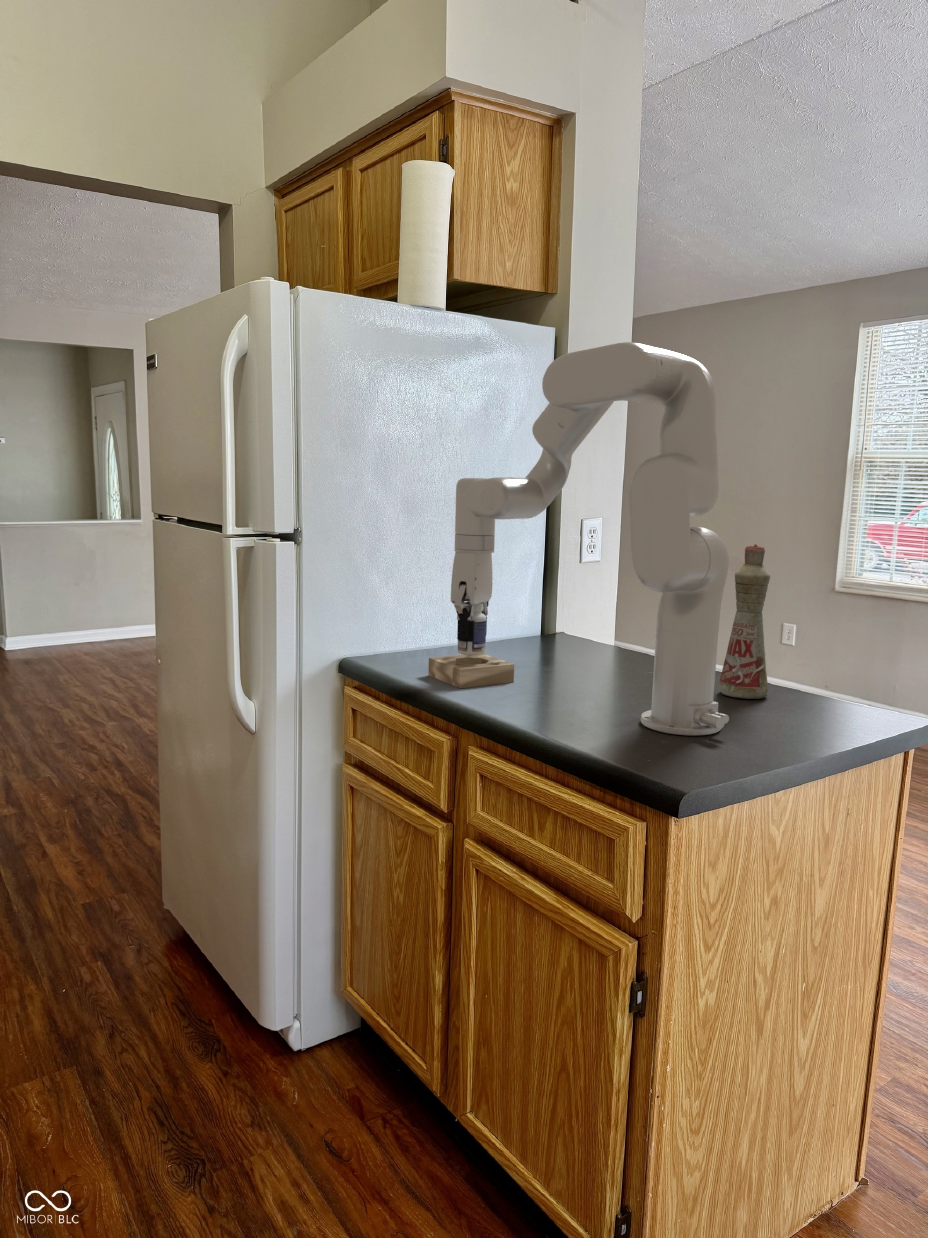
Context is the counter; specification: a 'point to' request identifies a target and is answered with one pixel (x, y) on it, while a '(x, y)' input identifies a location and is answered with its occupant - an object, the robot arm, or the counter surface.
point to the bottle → (747, 632)
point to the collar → (471, 670)
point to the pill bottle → (475, 634)
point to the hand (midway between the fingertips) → (472, 637)
